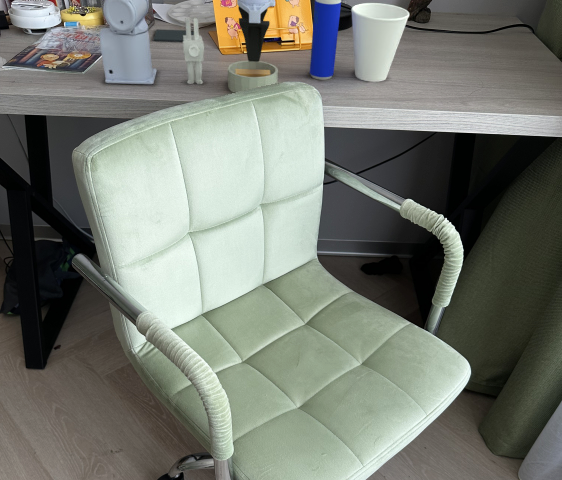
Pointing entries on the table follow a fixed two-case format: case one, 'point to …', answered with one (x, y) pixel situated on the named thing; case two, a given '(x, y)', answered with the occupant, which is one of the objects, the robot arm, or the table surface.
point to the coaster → (170, 35)
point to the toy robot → (193, 52)
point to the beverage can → (324, 38)
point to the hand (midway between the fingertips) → (253, 54)
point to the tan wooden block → (252, 72)
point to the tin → (245, 82)
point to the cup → (376, 38)
